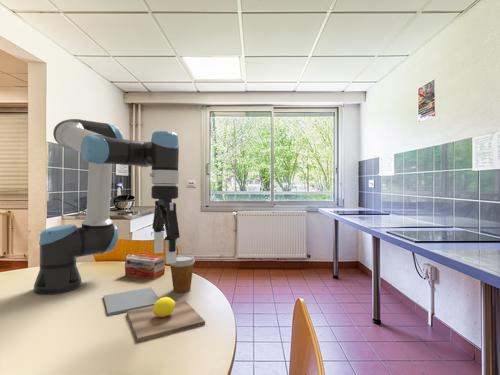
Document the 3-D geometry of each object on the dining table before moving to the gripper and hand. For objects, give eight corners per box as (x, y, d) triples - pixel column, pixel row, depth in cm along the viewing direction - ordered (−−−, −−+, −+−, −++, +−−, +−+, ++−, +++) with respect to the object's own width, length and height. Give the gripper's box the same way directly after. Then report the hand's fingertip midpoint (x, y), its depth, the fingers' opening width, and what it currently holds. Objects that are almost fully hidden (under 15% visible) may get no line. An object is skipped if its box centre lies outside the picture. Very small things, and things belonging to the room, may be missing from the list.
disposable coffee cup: (171, 285, 113) (171, 255, 113) (196, 284, 113) (196, 254, 113) (166, 294, 103) (166, 261, 103) (193, 294, 104) (193, 260, 104)
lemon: (158, 324, 80) (156, 305, 80) (150, 317, 84) (147, 300, 83) (180, 313, 85) (178, 296, 84) (171, 307, 89) (169, 291, 88)
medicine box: (124, 276, 125) (124, 257, 125) (137, 270, 132) (137, 253, 132) (154, 279, 120) (154, 260, 120) (165, 274, 128) (165, 256, 128)
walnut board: (126, 314, 87) (126, 311, 87) (184, 302, 96) (184, 299, 96) (137, 342, 72) (137, 338, 72) (205, 324, 81) (205, 321, 81)
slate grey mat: (103, 297, 100) (103, 295, 100) (151, 289, 108) (151, 287, 108) (107, 315, 86) (107, 313, 86) (161, 304, 95) (161, 302, 95)
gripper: (143, 184, 93) (142, 250, 93) (163, 185, 71) (162, 270, 71) (166, 185, 97) (166, 248, 97) (192, 185, 75) (191, 266, 75)
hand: (164, 257), depth 84 cm, fingers open, 13 cm apart
